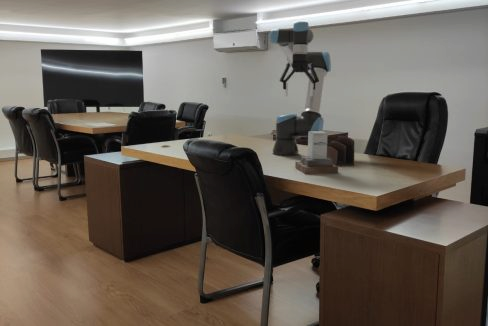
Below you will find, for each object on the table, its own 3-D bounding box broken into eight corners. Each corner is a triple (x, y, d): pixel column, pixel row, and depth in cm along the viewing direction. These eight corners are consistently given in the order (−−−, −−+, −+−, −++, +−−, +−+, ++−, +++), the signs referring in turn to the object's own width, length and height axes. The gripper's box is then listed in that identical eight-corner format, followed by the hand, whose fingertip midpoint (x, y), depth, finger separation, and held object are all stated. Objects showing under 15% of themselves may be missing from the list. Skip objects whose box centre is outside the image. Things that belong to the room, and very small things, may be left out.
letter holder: (338, 160, 261) (339, 134, 259) (354, 166, 242) (355, 138, 240) (321, 160, 259) (322, 134, 257) (336, 166, 240) (337, 139, 238)
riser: (295, 167, 235) (295, 155, 234) (326, 167, 237) (326, 155, 236) (304, 174, 219) (305, 161, 218) (337, 173, 222) (338, 160, 221)
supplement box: (311, 159, 223) (312, 132, 221) (307, 157, 230) (308, 131, 228) (326, 159, 224) (328, 132, 222) (321, 156, 232) (322, 130, 229)
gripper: (278, 52, 235) (277, 96, 238) (326, 53, 239) (324, 96, 243) (274, 53, 242) (273, 95, 246) (321, 54, 246) (319, 95, 250)
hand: (298, 96), depth 244 cm, fingers open, 13 cm apart
